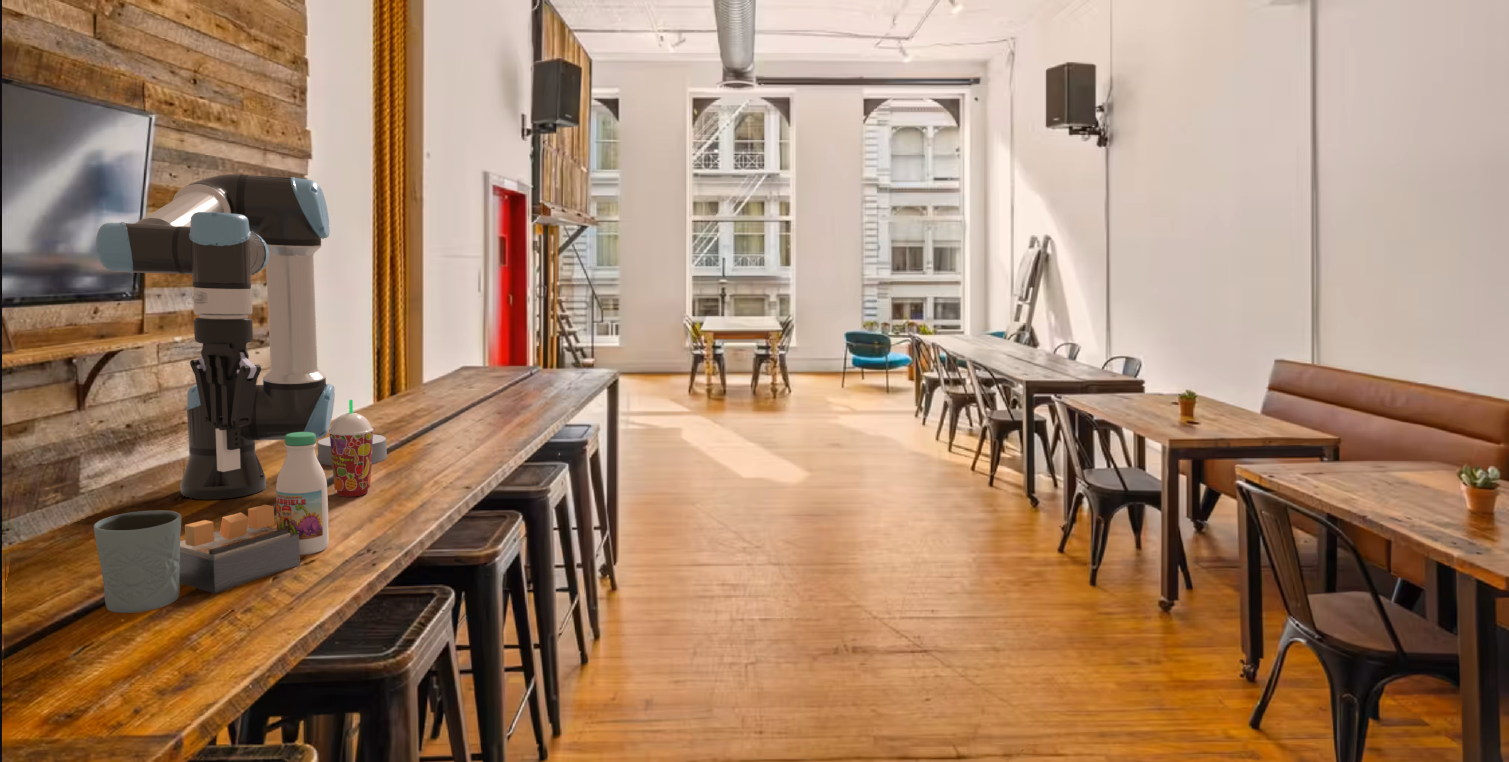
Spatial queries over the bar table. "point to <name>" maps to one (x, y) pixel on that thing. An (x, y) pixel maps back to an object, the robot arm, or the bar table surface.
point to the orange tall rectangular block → (199, 533)
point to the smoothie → (351, 453)
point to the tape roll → (377, 450)
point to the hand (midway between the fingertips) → (228, 469)
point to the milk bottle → (303, 494)
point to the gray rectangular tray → (237, 559)
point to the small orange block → (234, 526)
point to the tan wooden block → (261, 516)
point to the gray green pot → (139, 559)
